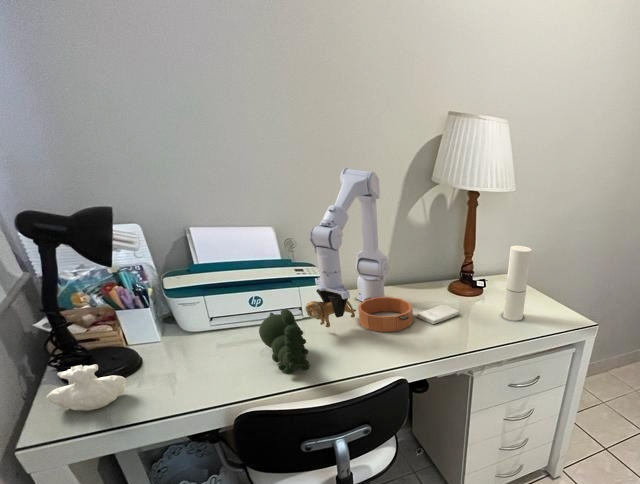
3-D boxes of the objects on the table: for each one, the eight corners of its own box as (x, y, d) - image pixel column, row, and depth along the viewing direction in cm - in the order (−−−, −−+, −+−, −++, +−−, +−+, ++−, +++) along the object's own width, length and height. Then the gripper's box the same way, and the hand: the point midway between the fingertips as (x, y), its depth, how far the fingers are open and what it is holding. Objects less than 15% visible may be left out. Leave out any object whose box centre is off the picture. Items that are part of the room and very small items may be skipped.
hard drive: (459, 315, 147) (433, 324, 138) (442, 308, 151) (417, 317, 142) (459, 311, 146) (433, 320, 137) (443, 303, 150) (417, 312, 141)
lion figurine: (318, 335, 120) (309, 308, 114) (308, 328, 122) (299, 302, 117) (361, 314, 129) (354, 288, 123) (351, 308, 131) (344, 283, 126)
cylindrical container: (523, 314, 154) (532, 247, 141) (521, 321, 148) (530, 252, 135) (504, 311, 154) (511, 244, 142) (502, 319, 148) (509, 249, 135)
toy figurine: (322, 382, 106) (293, 335, 121) (315, 317, 96) (283, 274, 110) (282, 392, 101) (257, 342, 115) (270, 325, 90) (243, 279, 105)
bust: (61, 424, 85) (43, 405, 76) (48, 392, 86) (29, 370, 77) (136, 403, 92) (127, 384, 84) (123, 374, 93) (114, 352, 85)
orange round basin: (346, 317, 136) (344, 303, 133) (387, 305, 148) (387, 292, 145) (384, 338, 126) (383, 323, 124) (425, 323, 138) (425, 310, 136)
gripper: (302, 265, 118) (309, 309, 125) (331, 280, 111) (336, 325, 118) (325, 261, 123) (330, 303, 130) (354, 275, 116) (358, 319, 123)
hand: (335, 313), depth 124 cm, fingers closed on lion figurine, 4 cm apart
